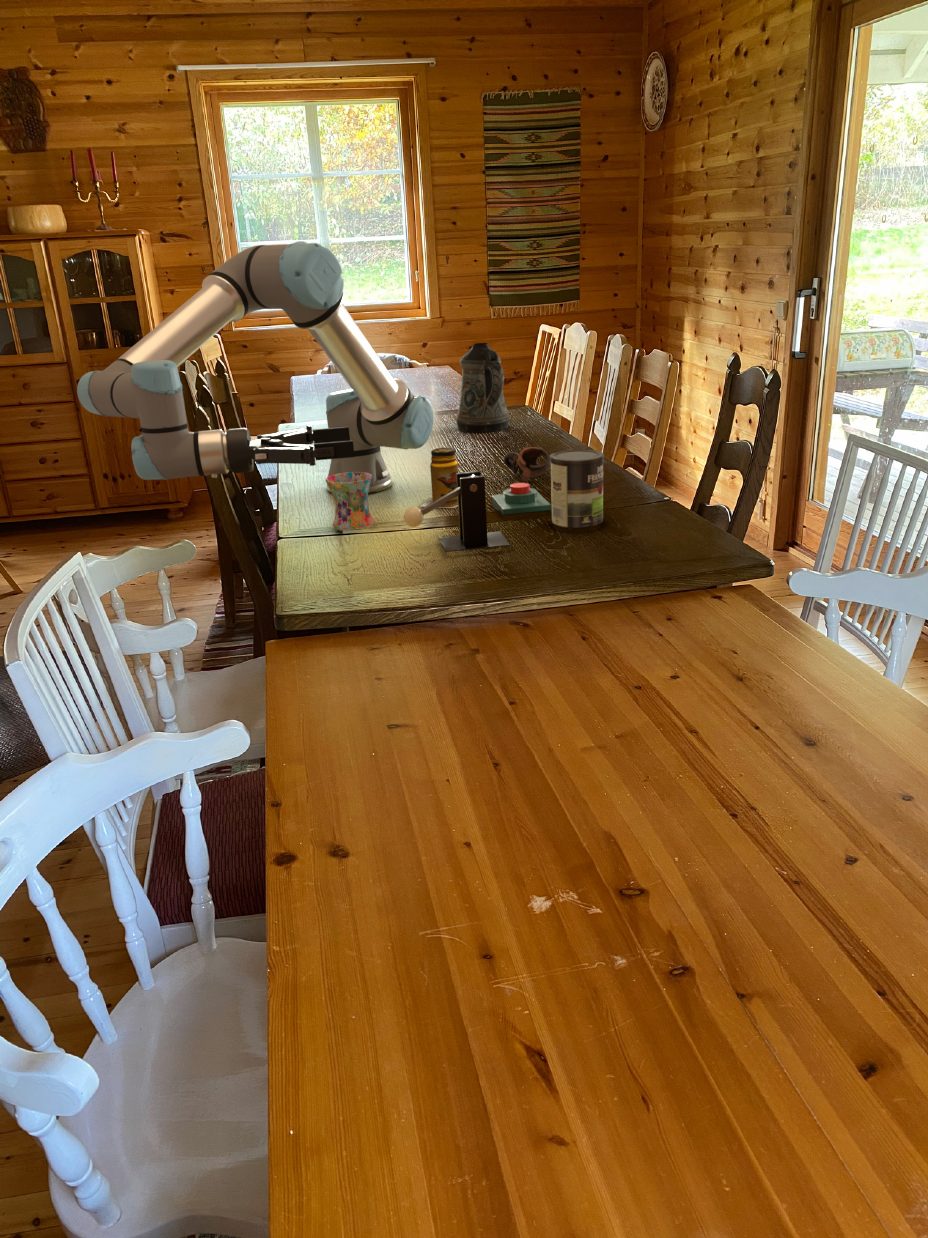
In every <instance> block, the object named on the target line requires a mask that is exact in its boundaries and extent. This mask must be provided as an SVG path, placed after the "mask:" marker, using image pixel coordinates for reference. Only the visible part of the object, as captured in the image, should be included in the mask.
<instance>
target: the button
mask: <svg viewBox="0 0 928 1238" xmlns="http://www.w3.org/2000/svg"><path fill="white" fill-rule="evenodd" d="M509 486H510V488H509V489H510V490H511V494H526V493H530V488H531V486H530V484H529V483H528V482H515V483H511V484H510V485H509Z"/></svg>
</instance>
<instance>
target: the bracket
mask: <svg viewBox="0 0 928 1238" xmlns="http://www.w3.org/2000/svg"><path fill="white" fill-rule="evenodd" d="M472 474H474V475H475V476H473V477H469V476H470V475H472ZM456 479H457V488H458V487H460V492H461V494H460V495H458V507H457V512H458V513H457V514H458V530H459V535H450V536H440V537H438V540H439V543H440V544H441V546H442V548H443V550H444V552H445V553H450V552H462V551H469V550H480V549H481V550H482V549H490V548H498V547H508V546H511V544H510V543H509V541H508V540H507V538H506V537H505V536H504V534H503V533H502V532H501V531H500V530H498V531H490V532H488V519H487V518H488V517H487V499H486V478H485V475H481V471H480V470H473V471H472V470H471V471H462V472H458V473H456Z"/></svg>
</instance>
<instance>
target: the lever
mask: <svg viewBox="0 0 928 1238" xmlns="http://www.w3.org/2000/svg"><path fill="white" fill-rule="evenodd" d="M473 476H475V475H474V474H472V475H470V476H469V477H473ZM460 494H461V492H460V487H458V488H457V489H455V490H453V491H452V492H450V493H448V494H446V495H445V496H443V497H441V498H439V499H438V500H436V501H434V502H432V503H431V504H429V505H427V506H425V507H421V508H419V507H417V506H416V507H415V506H412V507H408V508H407V509H406V510H405V511H404V514H403V520H404V522H405V525H407V526H408V527H410V528H411V527H412V528H417V527H418V526H420V525H421V524H422V523H423V521H424V516H425V515H427V514H428V513H430V512H432V511H434V510H435V509H437V507H439V506H441V505H442V504H444V503H446V502H448V501H449V500H451V499H453V498H455V497H456V496H458V495H460Z"/></svg>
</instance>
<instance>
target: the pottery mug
mask: <svg viewBox="0 0 928 1238" xmlns="http://www.w3.org/2000/svg"><path fill="white" fill-rule="evenodd" d="M542 456H544V457H545V461H544V462H543V463H541V464H539V463H538V462H537V461H538V458H540V457H542ZM503 462H504V463H505V466H506V467H507V468H508V469H510V470H511V472H512V473H513V474H514V475H517V474H519V476H521V480H522V481H523V482H524V483H528V482H529V481H530V480H531V479H534V478H538V477H541V476H543V475H546V473H548V472H549V471H550V470H551V460H550V454H549V453H548V451H547V450H545V449H544V448H542V447H538V446H528V447H525V448H523V449H521V450H520V452H519V453H517V452H514V451H509V452H506V453H505V455H504V457H503Z"/></svg>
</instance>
